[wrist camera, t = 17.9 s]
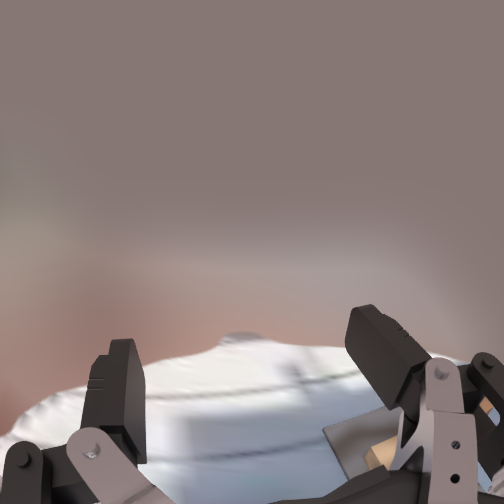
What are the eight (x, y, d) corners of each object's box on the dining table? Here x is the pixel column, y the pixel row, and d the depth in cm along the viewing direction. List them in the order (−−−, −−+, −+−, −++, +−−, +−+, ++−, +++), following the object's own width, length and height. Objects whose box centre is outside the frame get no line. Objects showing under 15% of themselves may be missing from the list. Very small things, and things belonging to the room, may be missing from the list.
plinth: (487, 500, 18) (504, 488, 16) (394, 566, 15) (409, 561, 13) (410, 396, 39) (418, 380, 38) (322, 430, 36) (327, 414, 34)
